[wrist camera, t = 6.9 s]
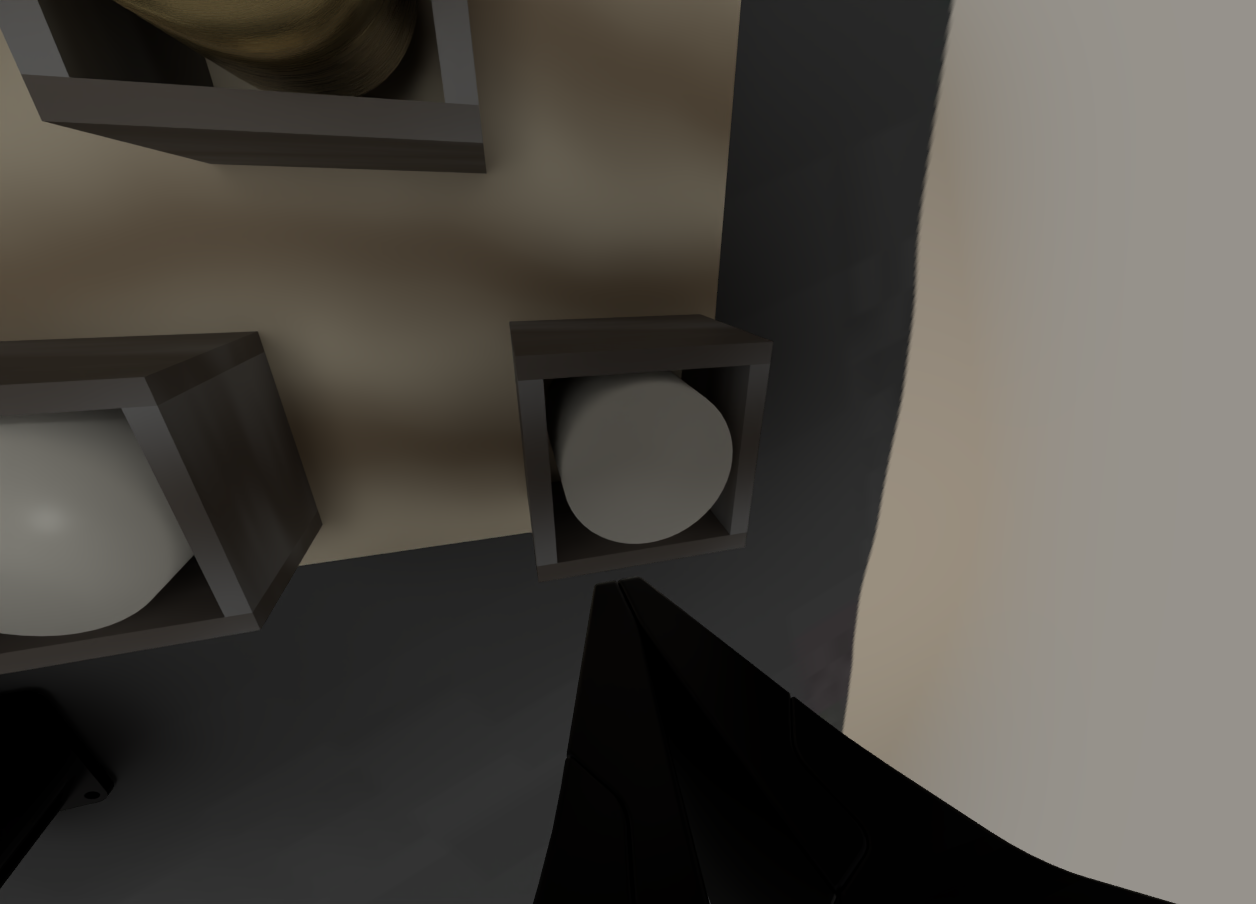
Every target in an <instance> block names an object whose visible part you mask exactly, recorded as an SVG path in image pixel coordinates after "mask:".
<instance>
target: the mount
mask: <svg viewBox="0 0 1256 904" xmlns="http://www.w3.org/2000/svg"><path fill="white" fill-rule="evenodd" d="M740 6H741V0H419V4H418V11H417V19H416V24H415V27H414V31H413V35H412V39H411V41H410V43H409V46H408V48H407V50H406V53H405V55H404V56H403V58H402V60H401V61H400V63H399V64H398V66H397V68H396V69H395V70H394V71H393V72H392V73H391V74H390V76H389V77H388V78H387V79H386V80H385V81H383V82H382V83H381V84H380V85H378V86H377V87H376V88H375V89H373V90H371V91H369V92H367V93H366V94H364V95H362V96H359V97H352V96H337V95H323V94H308V93H293V92H278V91H264V90H260V89H258V88H256V87H254V86H252V85H250V84H249V83H247V82H245V81H243V80H241V79H239V78H238V77H236V76H234V75H233V74H231V73H229V72H228V71H226V70H225V69H223V68H221V67H220V66H218V65H217V64H215V63H213V62H212V61H210V60H208V59H207V58H205V57H204V56H202V55H200V54H199V53H197V52H196V51H194V50H192V49H191V48H189V47H187V46H186V45H184V44H183V43H181V42H179V41H178V40H176V39H175V38H173V37H171V36H170V35H168V34H166V33H165V32H163V31H162V30H160V29H158V28H157V27H155V26H154V25H152V24H150V23H149V22H147V21H146V20H144V19H142V18H141V17H139V16H137V15H136V14H134V13H133V12H131V11H129V10H128V9H126V8H125V7H123V6H121V5H120V4H118V3H116V2H115V1H113V0H0V416H14V415H29V414H43V413H58V412H73V411H87V410H102V409H116V408H121V409H122V411H123V413H124V415H125V417H126V419H127V421H128V423H129V425H130V427H131V429H132V431H133V433H134V435H135V437H136V439H137V441H138V443H139V445H140V447H141V449H142V451H143V453H144V455H145V457H146V459H147V461H148V463H149V465H150V467H151V469H152V471H153V473H154V475H155V477H156V479H157V481H158V483H159V485H160V487H161V489H162V491H163V493H164V495H165V497H166V499H167V501H168V503H169V505H170V507H171V509H172V511H173V513H174V516H175V518H176V520H177V522H178V524H179V526H180V528H181V530H182V532H183V534H184V536H185V538H186V540H187V542H188V544H189V546H190V548H191V550H192V552H193V554H194V555H193V556H192V557H191V559H190V560H189V561H188V562H187V563H186V564H185V565H184V566H183V567H182V568H181V569H180V570H179V571H178V572H177V573H176V574H175V576H174V577H173V578H172V579H171V580H170V581H169V582H168V583H167V584H166V585H165V586H164V587H163V588H162V589H161V590H160V591H159V593H158V594H157V595H156V596H155V597H154V598H153V599H152V600H151V601H150V602H149V603H148V604H147V605H146V606H144V607H143V608H142V609H140V610H139V611H138V612H136V613H135V614H133V615H131V616H129V617H128V618H126V619H124V620H122V621H119V622H117V623H114V624H112V625H109V626H106V627H103V628H99V629H96V630H92V631H87V632H82V633H76V634H68V635H58V636H21V635H12V634H2V633H0V674H6V673H12V672H18V671H23V670H29V669H35V668H41V667H47V666H53V665H59V664H64V663H70V662H76V661H82V660H88V659H94V658H99V657H105V656H111V655H117V654H123V653H129V652H135V651H140V650H146V649H152V648H158V647H164V646H170V645H176V644H181V643H187V642H193V641H199V640H205V639H211V638H216V637H222V636H228V635H234V634H240V633H246V632H252V631H257V630H261V628H262V626H263V625H264V623H265V621H266V620H267V618H268V616H269V615H270V613H271V611H272V610H273V608H274V606H275V604H276V603H277V601H278V599H279V598H280V596H281V594H282V593H283V591H284V589H285V588H286V586H287V584H288V583H289V581H290V579H291V577H292V576H293V574H294V572H295V571H296V569H297V567H298V566H301V565H308V564H315V563H322V562H329V561H336V560H343V559H350V558H356V557H363V556H370V555H377V554H384V553H391V552H398V551H405V550H412V549H419V548H425V547H432V546H439V545H446V544H453V543H460V542H467V541H474V540H481V539H487V538H494V537H501V536H508V535H515V534H522V533H529V532H532V536H533V543H534V551H535V559H536V567H537V574H538V582H544V581H550V580H556V579H562V578H567V577H573V576H579V575H585V574H591V573H597V572H602V571H608V570H614V569H620V568H626V567H632V566H638V565H643V564H649V563H655V562H661V561H667V560H673V559H679V558H684V557H690V556H696V555H702V554H708V553H714V552H719V551H725V550H731V549H737V548H743V547H745V543H746V536H747V529H748V521H749V514H750V507H751V499H752V492H753V485H754V478H755V470H756V463H757V456H758V449H759V441H760V434H761V427H762V420H763V412H764V405H765V398H766V391H767V383H768V376H769V369H770V362H771V354H772V347H773V341H770V340H767V339H765V338H762V337H759V336H757V335H754V334H751V333H749V332H746V331H744V330H741V329H738V328H736V327H733V326H730V325H728V324H725V323H722V322H720V321H717V320H715V311H716V299H717V287H718V275H719V262H720V250H721V238H722V226H723V214H724V201H725V189H726V177H727V165H728V153H729V140H730V128H731V116H732V104H733V92H734V79H735V67H736V55H737V43H738V31H739V18H740ZM656 371H671V372H672V373H674V374H675V375H676V376H678V377H679V378H680V379H681V380H683V381H684V382H685V383H687V384H688V385H689V386H691V387H692V388H693V389H695V390H696V391H697V392H699V393H700V394H701V395H702V396H704V397H705V398H706V399H708V400H709V401H710V402H711V403H712V404H713V405H714V406H715V407H716V408H717V409H718V411H719V412H720V413H721V415H722V416H723V418H724V420H725V421H726V424H727V426H728V429H729V431H730V435H731V439H732V449H733V453H732V464H731V470H730V473H729V476H728V480H727V482H726V484H725V486H724V489H723V491H722V492H721V494H720V496H719V497H718V499H717V500H716V502H715V503H714V504H713V506H712V507H711V508H710V509H709V510H708V511H707V512H706V513H705V515H703V516H702V517H701V518H700V519H699V520H698V521H697V522H695V523H694V524H692V525H691V526H690V527H688V528H687V529H685V530H683V531H681V532H680V533H678V534H675V535H673V536H671V537H668V538H665V539H662V540H659V541H655V542H650V543H641V544H627V543H620V542H615V541H612V540H608V539H606V538H603V537H601V536H599V535H597V534H595V533H594V532H592V531H590V530H589V529H588V528H587V527H585V526H584V525H583V524H582V523H581V522H580V521H579V520H578V519H577V517H576V516H575V514H574V513H573V512H572V510H571V508H570V506H569V504H568V502H567V499H566V496H565V493H564V489H563V485H562V482H561V478H560V474H559V471H558V467H557V464H556V460H555V456H554V453H553V449H552V445H551V442H550V438H549V435H548V431H547V423H546V410H545V401H546V397H547V393H548V390H549V388H550V385H551V383H552V381H553V380H554V378H568V377H583V376H597V375H612V374H627V373H641V372H656Z"/></svg>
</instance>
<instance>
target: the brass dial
mask: <svg viewBox="0 0 1256 904" xmlns="http://www.w3.org/2000/svg"><path fill="white" fill-rule="evenodd" d="M113 1H115V2H116V3H118V4H120V5H121V6H123V7H125V8H126V9H128V10H129V11H131V12H133V13H134V14H136V15H137V16H139V17H141V18H142V19H144V20H146V21H147V22H149V23H150V24H152V25H154V26H155V27H157V28H158V29H160V30H162V31H163V32H165V33H166V34H168V35H170V36H171V37H173V38H175V39H176V40H178V41H179V42H181V43H183V44H184V45H186V46H187V47H189V48H191V49H192V50H194V51H196V52H197V53H199V54H200V55H202V56H204V57H205V58H207V59H208V60H210V61H212V62H213V63H215V64H217V65H218V66H220V67H221V68H223V69H225V70H226V71H228V72H229V73H231V74H233V75H234V76H236V77H238V78H239V79H241V80H243V81H245V82H247V83H249V84H250V85H252V86H254V87H256V88H258V89H260V90H264V91H278V92H293V93H308V94H323V95H337V96H352V97H359V96H362V95H364V94H366V93H367V92H369V91H371V90H373V89H375V88H376V87H377V86H378V85H380V84H381V83H382V82H383V81H385V80H386V79H387V78H388V77H389V76H390V74H391V73H392V72H393V71H394V70H395V69H396V68H397V66H398V64H399V63H400V61H401V60H402V58H403V56H404V55H405V53H406V50H407V48H408V46H409V43H410V41H411V39H412V35H413V31H414V27H415V24H416V19H417V11H418V4H419V0H113Z"/></svg>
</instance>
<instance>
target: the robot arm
mask: <svg viewBox="0 0 1256 904" xmlns="http://www.w3.org/2000/svg"><path fill="white" fill-rule="evenodd" d="M113 787H114V783H113V781H112V780H111V779H110V777H109V776H108V775H107V774H106V772H105V771H104V770H103V769H102V767H101V766H100V765H99V764H98V762H97V761H96V760H95V759H94V757H93V756H92V755H91V754H90V752H89V751H88V750H87V749H86V747H85V746H84V745H83V744H82V742H81V741H80V740H79V739H78V737H77V736H76V735H75V734H74V732H73V731H72V730H71V729H70V727H69V726H68V725H67V724H66V722H65V721H64V720H63V719H62V717H61V716H60V715H59V714H58V712H57V711H56V710H55V709H54V707H53V706H52V705H51V704H50V702H49V701H48V700H47V699H46V697H44V696H43V695H42V694H39V693H37V692H31V691H25V692H17V693H12V694H6V695H1V696H0V888H1V887H2V886H3V884H4V883H5V882H6V880H7V879H8V878H9V876H10V875H11V874H12V872H13V871H14V870H15V868H16V867H17V866H18V864H19V863H20V862H21V860H22V859H23V858H24V856H25V855H26V854H27V853H28V851H29V850H30V849H31V847H32V846H33V845H34V843H35V842H36V841H37V839H38V838H39V837H40V835H41V834H42V833H43V831H44V830H45V829H46V827H47V826H48V825H49V823H50V822H51V821H52V819H53V818H54V817H55V816H56V814H57V813H58V812H59V811H61V810H66V809H70V808H74V807H79V806H83V805H87V804H92V803H96V802H100V801H102V800H104V799H105V798H107V796H108V795H109V793H110V792H111V790H112V789H113ZM707 895H708V896H707ZM708 897H709V900H710V903H711V904H1175V903H1172V902H1169V901H1165V900H1162V899H1159V898H1155V897H1152V896H1148V895H1145V894H1142V893H1138V892H1135V891H1131V890H1128V889H1124V888H1121V887H1118V886H1114V885H1111V884H1108V883H1104V882H1100V881H1097V880H1094V879H1091V878H1087V877H1084V876H1081V875H1077V874H1075V873H1072V872H1069V871H1066V870H1064V869H1062V868H1059V867H1056V866H1054V865H1051V864H1049V863H1047V862H1045V861H1043V860H1041V859H1039V858H1036V857H1034V856H1032V855H1030V854H1028V853H1026V852H1025V851H1023V850H1021V849H1019V848H1017V847H1015V846H1013V845H1012V844H1010V843H1008V842H1007V841H1005V840H1003V839H1001V838H1000V837H998V836H997V835H995V834H994V833H992V832H990V831H989V830H987V829H986V828H984V827H983V826H981V825H980V824H978V823H977V822H975V821H973V820H972V819H970V818H969V817H967V816H966V815H964V814H963V813H961V812H960V811H958V810H957V809H955V808H954V807H952V806H950V805H949V804H947V803H946V802H944V801H943V800H941V799H940V798H938V797H937V796H935V795H934V794H932V793H931V792H929V791H928V790H926V789H925V788H923V787H921V786H920V785H918V784H917V783H915V782H914V781H912V780H911V779H909V778H907V777H906V776H905V775H903V774H902V773H900V772H899V771H897V770H895V769H894V768H892V767H891V766H889V765H888V764H886V763H885V762H883V761H882V760H880V759H879V758H877V757H876V756H875V755H873V754H872V753H870V752H869V751H867V750H866V749H864V748H863V747H861V746H860V745H859V744H857V743H856V742H854V741H853V740H851V739H850V738H848V737H847V736H846V735H844V734H843V733H842V732H840V731H839V730H838V729H836V728H835V727H834V726H832V725H831V724H829V723H828V722H827V721H825V720H824V719H823V718H821V717H820V716H819V715H817V714H816V713H815V712H813V711H812V710H811V709H810V708H808V707H807V706H806V705H804V704H803V703H802V702H801V701H799V700H798V699H797V698H795V697H792V698H791V696H790V693H789V692H787V691H786V690H785V689H784V688H782V687H781V686H780V685H778V684H777V683H776V682H775V681H773V680H772V679H771V678H769V677H768V676H767V675H766V674H764V673H763V672H762V671H760V670H759V669H758V668H757V667H755V666H754V665H753V664H751V663H750V662H749V661H748V660H746V659H745V658H744V657H742V656H741V655H740V654H739V653H737V652H736V651H735V650H733V649H732V648H731V647H730V646H728V645H727V644H726V643H724V642H723V641H722V640H721V639H719V638H718V637H717V636H715V635H714V634H713V633H712V632H710V631H709V630H708V629H706V628H705V627H704V626H703V625H701V624H700V623H699V622H697V621H696V620H695V619H694V618H692V617H691V616H690V615H688V614H687V613H686V612H685V611H683V610H682V609H681V608H679V607H678V606H677V605H676V604H674V603H673V602H672V601H670V600H669V599H668V598H667V597H665V596H664V595H663V594H661V593H660V592H659V591H658V590H656V589H655V588H654V587H652V586H651V585H650V584H649V583H647V582H646V581H645V580H643V579H642V578H640V577H631V578H625V579H621V580H619V581H618V583H617V582H616V581H609V582H603V583H598V584H596V585H595V586H594V591H593V597H592V603H591V609H590V615H589V621H588V627H587V634H586V640H585V646H584V652H583V658H582V664H581V670H580V676H579V682H578V688H577V694H576V700H575V707H574V713H573V719H572V725H571V731H570V737H569V743H568V749H567V759H566V760H565V765H564V771H563V778H562V784H561V790H560V795H559V800H558V805H557V810H556V815H555V820H554V825H553V830H552V834H551V838H550V842H549V846H548V849H547V853H546V857H545V861H544V865H543V869H542V873H541V877H540V880H539V884H538V888H537V891H536V895H535V898H534V902H533V904H710V903H709V900H708Z"/></svg>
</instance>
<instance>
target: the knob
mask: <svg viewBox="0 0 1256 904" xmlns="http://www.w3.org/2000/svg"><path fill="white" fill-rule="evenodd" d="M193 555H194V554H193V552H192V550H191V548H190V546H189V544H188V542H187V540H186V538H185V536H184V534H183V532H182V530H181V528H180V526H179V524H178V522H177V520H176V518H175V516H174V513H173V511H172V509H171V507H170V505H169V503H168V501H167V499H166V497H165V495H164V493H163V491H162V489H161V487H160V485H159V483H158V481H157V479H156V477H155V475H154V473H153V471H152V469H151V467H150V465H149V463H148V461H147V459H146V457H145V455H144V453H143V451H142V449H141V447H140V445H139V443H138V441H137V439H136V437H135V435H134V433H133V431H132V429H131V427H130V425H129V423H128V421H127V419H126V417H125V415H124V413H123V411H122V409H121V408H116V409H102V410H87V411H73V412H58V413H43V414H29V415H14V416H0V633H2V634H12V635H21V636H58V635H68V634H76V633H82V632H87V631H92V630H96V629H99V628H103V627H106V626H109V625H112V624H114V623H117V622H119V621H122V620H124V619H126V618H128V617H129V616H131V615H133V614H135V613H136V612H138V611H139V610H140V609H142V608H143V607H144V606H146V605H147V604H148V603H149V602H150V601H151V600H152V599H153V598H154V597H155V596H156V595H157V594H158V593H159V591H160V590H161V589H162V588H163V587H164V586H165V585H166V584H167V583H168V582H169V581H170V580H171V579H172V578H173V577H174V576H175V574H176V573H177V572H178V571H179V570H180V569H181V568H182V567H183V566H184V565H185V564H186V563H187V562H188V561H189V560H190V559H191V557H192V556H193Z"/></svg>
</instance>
